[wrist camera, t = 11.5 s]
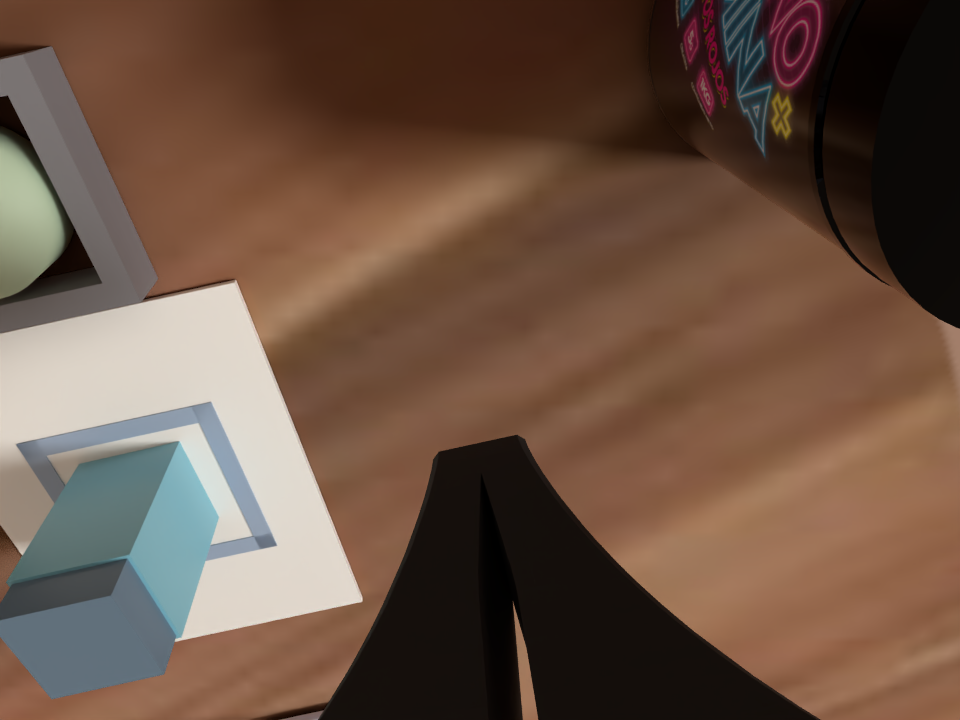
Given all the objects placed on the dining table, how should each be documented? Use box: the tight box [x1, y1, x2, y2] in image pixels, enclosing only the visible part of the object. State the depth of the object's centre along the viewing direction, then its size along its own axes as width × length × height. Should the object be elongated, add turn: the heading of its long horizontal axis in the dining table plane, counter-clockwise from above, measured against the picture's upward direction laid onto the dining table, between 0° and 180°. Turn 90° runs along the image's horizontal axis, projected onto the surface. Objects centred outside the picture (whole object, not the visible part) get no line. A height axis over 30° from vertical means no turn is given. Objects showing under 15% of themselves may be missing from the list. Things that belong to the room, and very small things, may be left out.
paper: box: [0, 280, 362, 642], centre depth 23 cm, size 13×10×1 cm
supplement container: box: [647, 0, 960, 328], centre depth 14 cm, size 7×7×10 cm
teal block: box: [0, 441, 219, 699], centre depth 20 cm, size 3×3×6 cm
